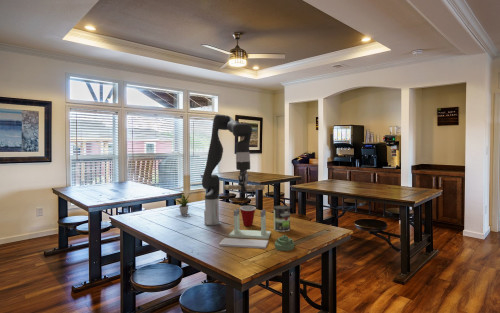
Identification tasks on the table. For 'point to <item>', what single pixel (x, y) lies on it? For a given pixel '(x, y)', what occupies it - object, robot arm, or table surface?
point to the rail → (247, 187)
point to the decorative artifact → (284, 243)
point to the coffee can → (281, 218)
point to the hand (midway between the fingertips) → (244, 192)
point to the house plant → (183, 204)
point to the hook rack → (250, 233)
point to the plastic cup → (247, 214)
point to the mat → (244, 243)
